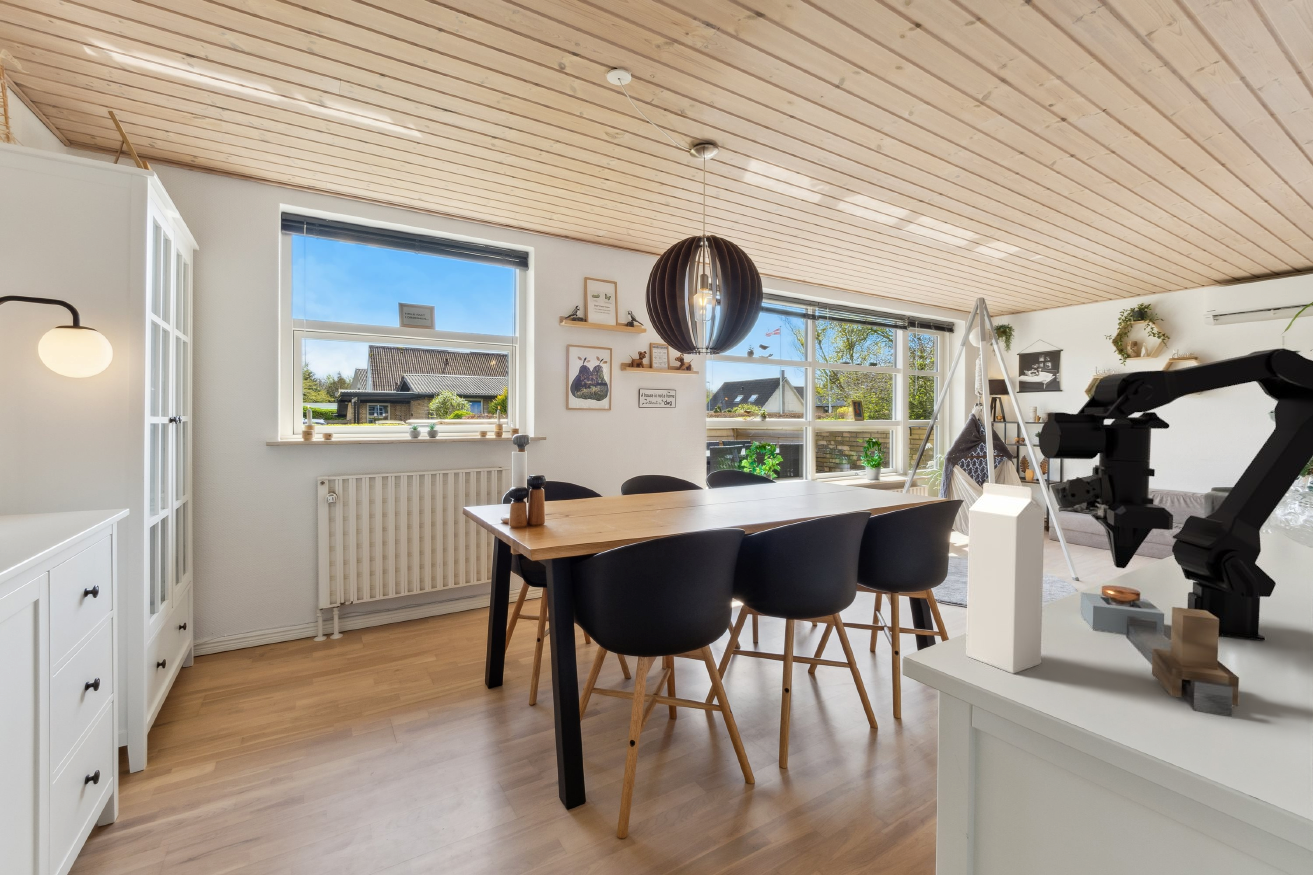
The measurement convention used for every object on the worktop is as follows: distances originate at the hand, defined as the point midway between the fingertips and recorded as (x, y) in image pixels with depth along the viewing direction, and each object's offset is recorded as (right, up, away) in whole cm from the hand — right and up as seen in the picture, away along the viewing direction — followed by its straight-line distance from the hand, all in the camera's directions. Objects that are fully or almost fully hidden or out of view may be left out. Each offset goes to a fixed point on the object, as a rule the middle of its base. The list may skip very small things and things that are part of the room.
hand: (1119, 567), depth 85 cm
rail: (-5, -9, -15) cm, 18 cm away
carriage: (-8, -9, -20) cm, 24 cm away
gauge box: (0, -9, 0) cm, 9 cm away
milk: (-24, -9, -12) cm, 28 cm away
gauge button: (0, -8, 0) cm, 8 cm away
